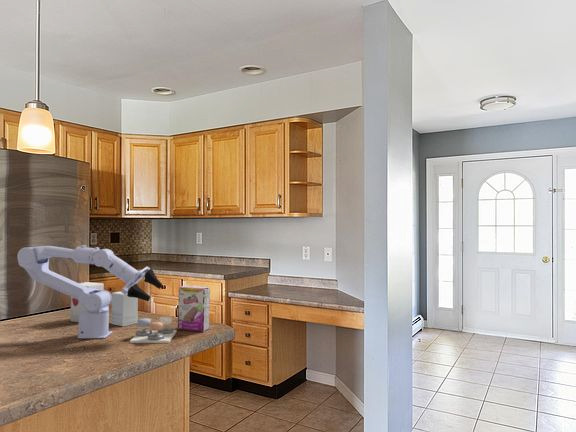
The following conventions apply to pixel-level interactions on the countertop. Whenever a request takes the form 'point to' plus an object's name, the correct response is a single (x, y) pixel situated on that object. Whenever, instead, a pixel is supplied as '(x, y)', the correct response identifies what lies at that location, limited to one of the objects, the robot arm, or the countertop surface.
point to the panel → (154, 336)
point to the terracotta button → (156, 326)
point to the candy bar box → (193, 308)
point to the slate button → (143, 322)
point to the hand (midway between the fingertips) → (155, 292)
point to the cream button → (166, 320)
